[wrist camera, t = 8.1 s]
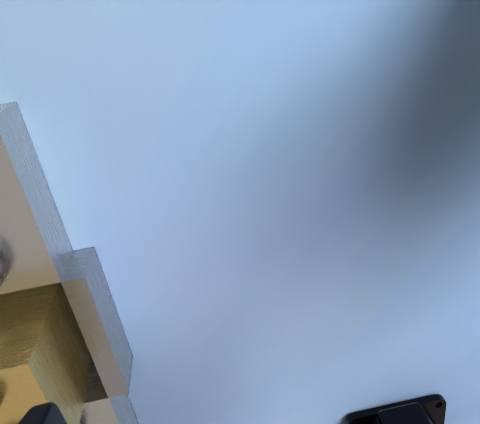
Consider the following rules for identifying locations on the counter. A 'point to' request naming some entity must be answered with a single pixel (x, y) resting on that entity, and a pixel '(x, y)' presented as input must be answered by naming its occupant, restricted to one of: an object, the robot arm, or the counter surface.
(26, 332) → the studded golden block
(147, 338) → the counter surface
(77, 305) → the chrome-studded grey beam
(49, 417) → the robot arm
